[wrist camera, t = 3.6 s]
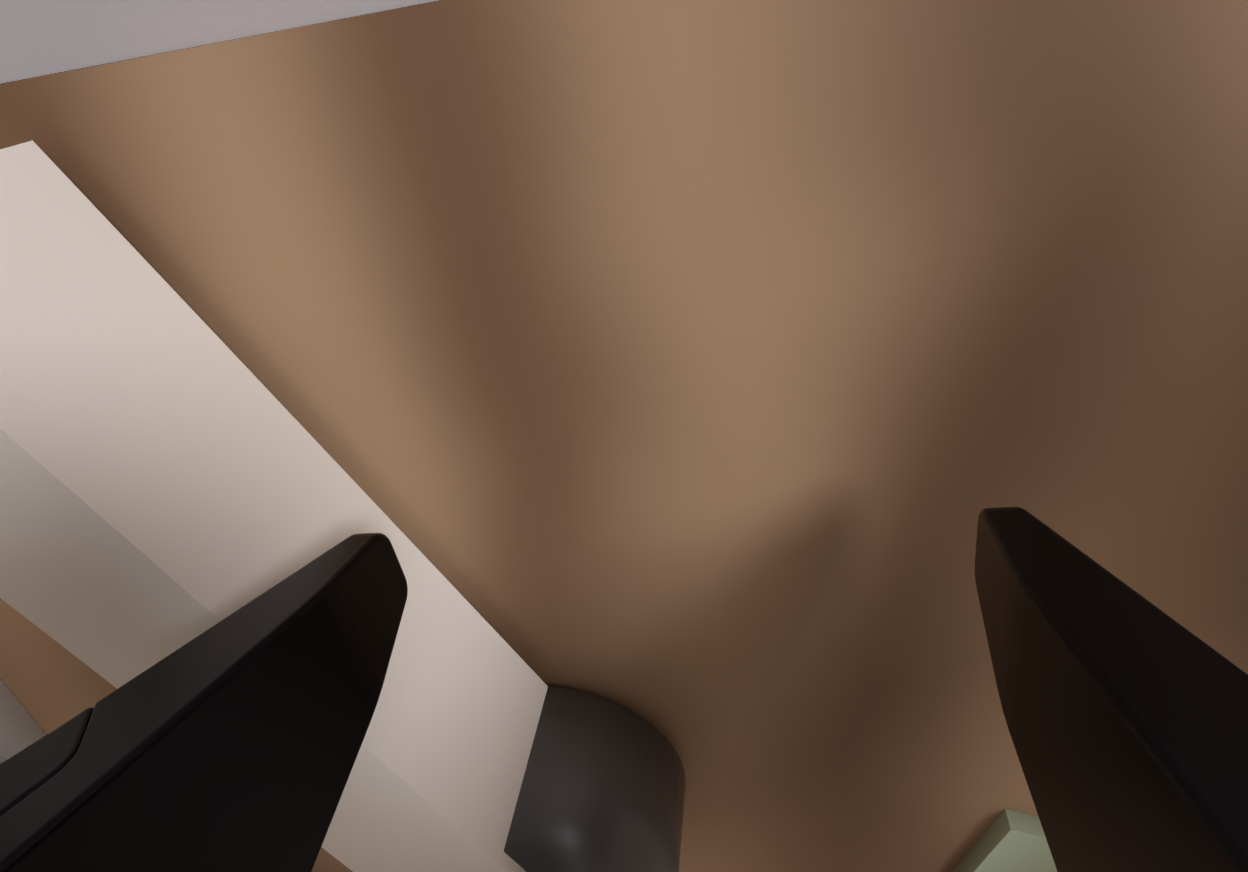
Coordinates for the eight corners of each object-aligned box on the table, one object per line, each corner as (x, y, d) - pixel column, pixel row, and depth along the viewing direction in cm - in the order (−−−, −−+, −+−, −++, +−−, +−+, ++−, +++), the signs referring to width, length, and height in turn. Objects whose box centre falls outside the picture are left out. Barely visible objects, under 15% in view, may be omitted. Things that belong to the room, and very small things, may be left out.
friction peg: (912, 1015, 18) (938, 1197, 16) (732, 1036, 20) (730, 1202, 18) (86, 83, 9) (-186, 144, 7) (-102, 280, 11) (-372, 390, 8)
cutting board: (1541, -210, 7) (1715, -241, 6) (1115, 1018, 20) (1141, 1095, 19) (-330, 146, 12) (-464, 172, 11) (285, 955, 25) (259, 1013, 24)
